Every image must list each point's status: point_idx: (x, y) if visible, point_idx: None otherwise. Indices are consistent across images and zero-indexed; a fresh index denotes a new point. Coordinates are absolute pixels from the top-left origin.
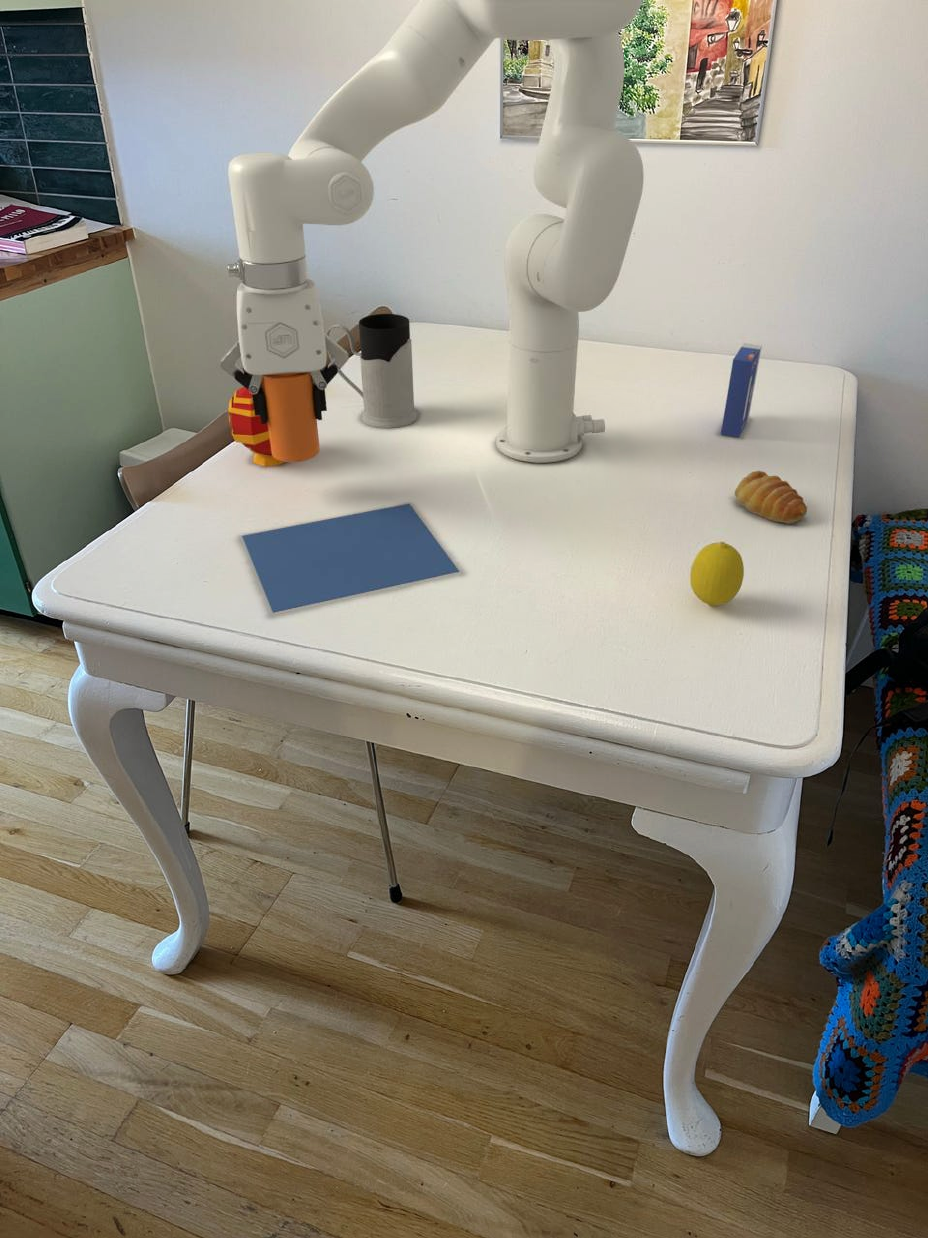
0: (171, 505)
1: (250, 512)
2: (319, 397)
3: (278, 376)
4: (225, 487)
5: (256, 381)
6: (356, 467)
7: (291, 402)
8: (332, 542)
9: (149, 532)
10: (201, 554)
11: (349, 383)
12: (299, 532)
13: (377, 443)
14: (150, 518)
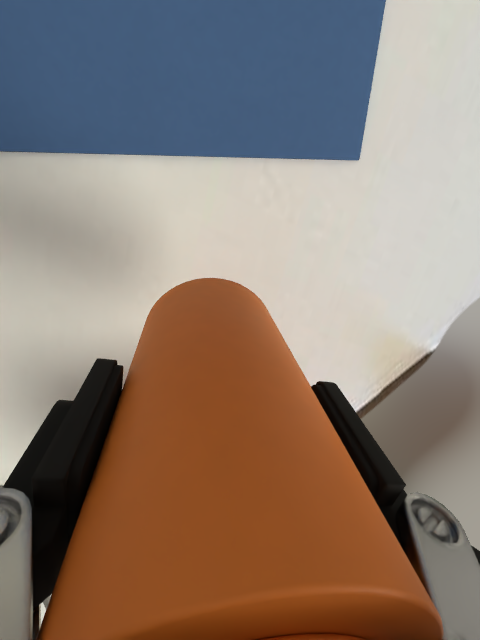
0: (409, 330)
1: (309, 262)
2: (57, 436)
3: (357, 625)
4: (318, 362)
5: (453, 576)
6: (78, 369)
7: (245, 397)
8: (181, 8)
9: (474, 253)
10: (445, 123)
11: (48, 597)
12: (247, 116)
13: (28, 442)
14: (452, 300)
